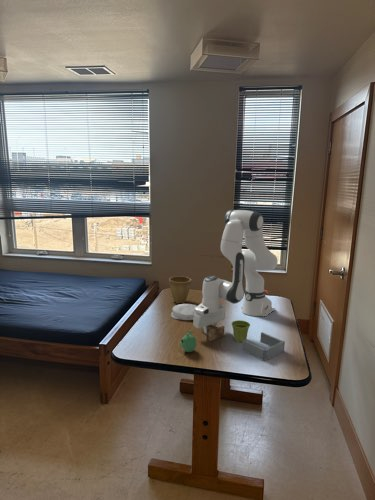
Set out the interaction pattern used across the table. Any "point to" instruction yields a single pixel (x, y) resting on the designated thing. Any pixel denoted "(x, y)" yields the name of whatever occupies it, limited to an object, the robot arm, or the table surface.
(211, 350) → the table surface
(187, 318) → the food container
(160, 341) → the table surface
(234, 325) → the plant pot
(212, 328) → the wooden angled block
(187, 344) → the alien toy
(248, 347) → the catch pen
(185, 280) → the plant pot
